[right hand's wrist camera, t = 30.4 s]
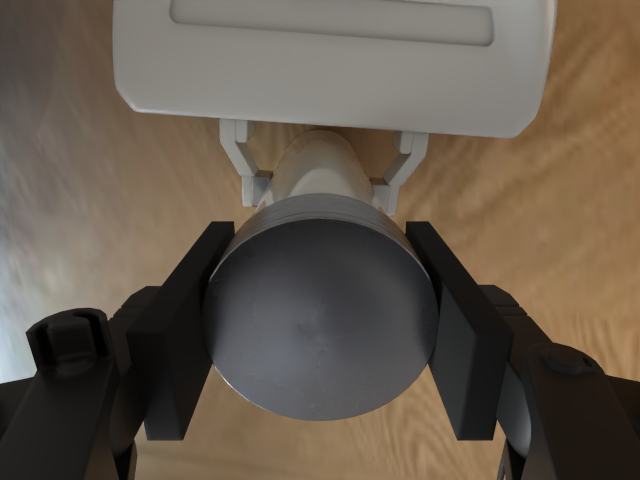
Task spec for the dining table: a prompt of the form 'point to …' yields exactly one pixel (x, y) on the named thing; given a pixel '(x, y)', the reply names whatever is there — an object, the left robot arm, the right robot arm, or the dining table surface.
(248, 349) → the lid
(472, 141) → the dining table surface
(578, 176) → the dining table surface
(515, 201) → the dining table surface
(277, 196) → the bottle
